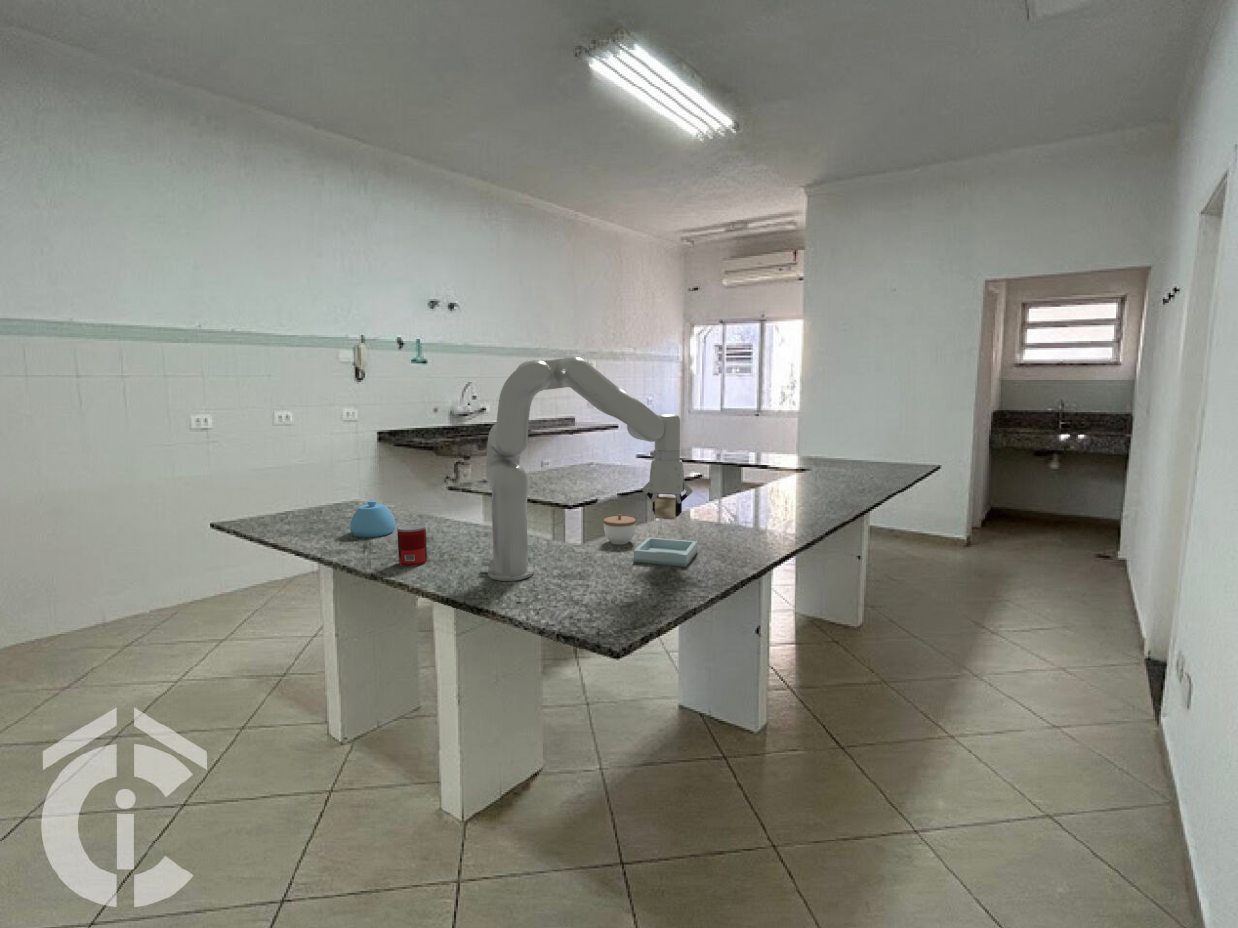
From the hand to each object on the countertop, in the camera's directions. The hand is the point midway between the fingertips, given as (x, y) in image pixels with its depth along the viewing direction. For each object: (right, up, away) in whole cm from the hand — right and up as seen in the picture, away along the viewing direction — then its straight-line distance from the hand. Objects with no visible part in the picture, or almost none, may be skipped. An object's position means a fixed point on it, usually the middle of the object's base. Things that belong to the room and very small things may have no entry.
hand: (667, 514), depth 187 cm
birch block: (0, -1, 0) cm, 1 cm away
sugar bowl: (-102, -9, +32) cm, 107 cm away
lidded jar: (-14, -11, +19) cm, 26 cm away
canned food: (-76, -14, -4) cm, 77 cm away
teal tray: (0, -13, +2) cm, 13 cm away
